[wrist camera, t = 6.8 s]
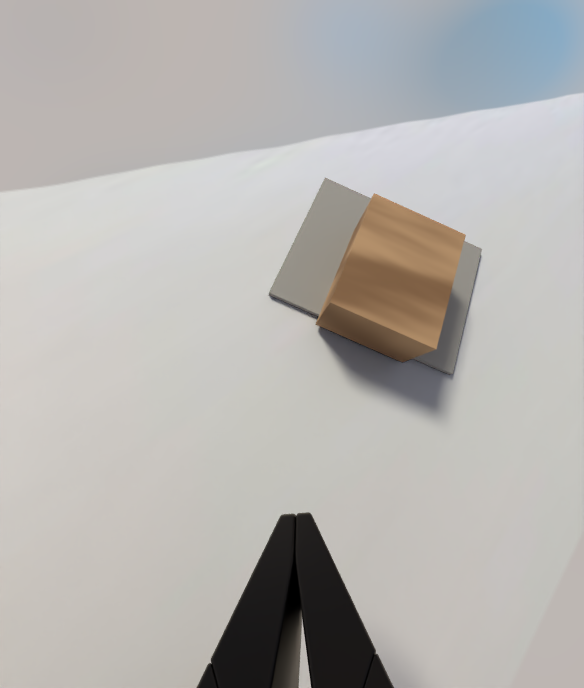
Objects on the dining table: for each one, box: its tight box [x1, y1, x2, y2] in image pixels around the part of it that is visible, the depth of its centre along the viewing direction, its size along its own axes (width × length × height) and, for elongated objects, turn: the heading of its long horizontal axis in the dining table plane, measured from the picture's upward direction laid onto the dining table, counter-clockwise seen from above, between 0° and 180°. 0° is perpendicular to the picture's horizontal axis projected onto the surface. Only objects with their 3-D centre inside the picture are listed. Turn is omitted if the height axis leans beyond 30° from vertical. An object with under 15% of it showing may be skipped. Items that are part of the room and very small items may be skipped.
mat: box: [269, 178, 482, 375], centre depth 23 cm, size 12×15×1 cm
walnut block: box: [316, 193, 465, 362], centre depth 20 cm, size 4×7×9 cm
